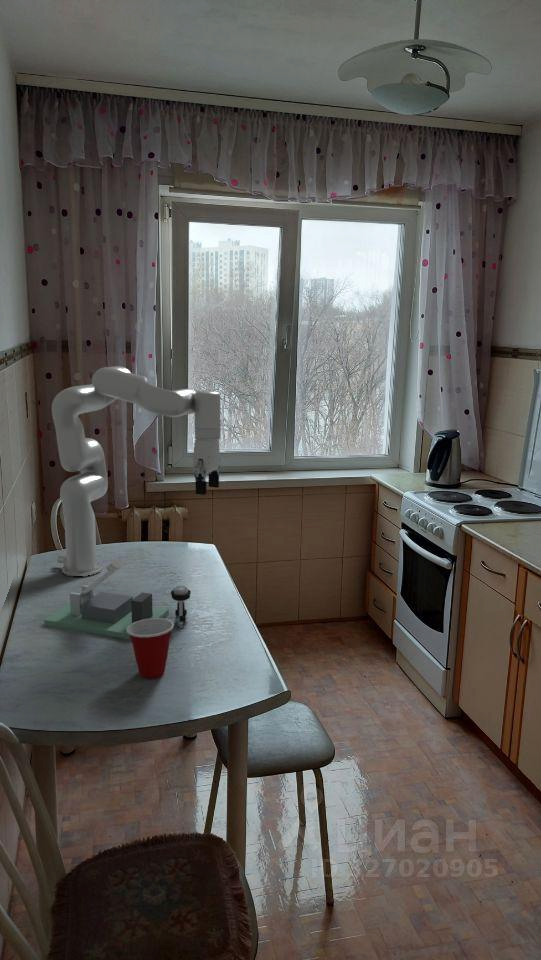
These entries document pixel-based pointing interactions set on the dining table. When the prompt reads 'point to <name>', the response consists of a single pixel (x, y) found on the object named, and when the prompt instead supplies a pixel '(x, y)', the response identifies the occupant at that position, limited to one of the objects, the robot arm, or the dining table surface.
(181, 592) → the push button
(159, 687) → the dining table surface
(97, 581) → the retention strap
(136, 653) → the plastic cup
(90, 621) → the board
